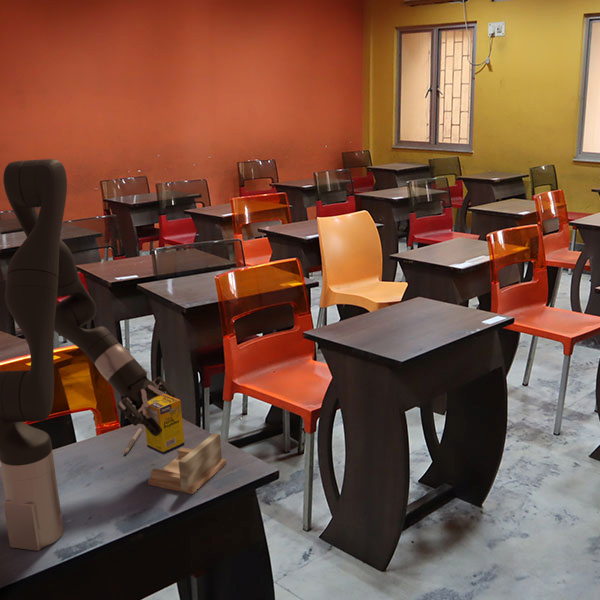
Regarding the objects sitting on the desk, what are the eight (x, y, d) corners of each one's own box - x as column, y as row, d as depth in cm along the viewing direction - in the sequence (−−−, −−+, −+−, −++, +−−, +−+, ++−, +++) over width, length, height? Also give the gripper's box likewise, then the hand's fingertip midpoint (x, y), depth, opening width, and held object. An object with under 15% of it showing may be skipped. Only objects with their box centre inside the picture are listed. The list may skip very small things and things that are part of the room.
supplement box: (185, 445, 166) (181, 399, 163) (163, 455, 162) (158, 408, 159) (168, 437, 170) (164, 392, 167) (146, 447, 166) (141, 401, 163)
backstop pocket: (192, 494, 157) (189, 463, 155) (148, 484, 162) (145, 454, 160) (226, 463, 169) (224, 434, 167) (184, 455, 174) (182, 427, 172)
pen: (144, 430, 188) (144, 424, 188) (127, 456, 175) (127, 451, 174) (140, 430, 188) (140, 424, 188) (123, 456, 175) (122, 451, 175)
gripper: (108, 371, 157) (160, 430, 156) (148, 348, 170) (197, 403, 168) (90, 391, 161) (141, 449, 160) (131, 367, 174) (178, 422, 172)
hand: (169, 426), depth 164 cm, fingers closed on supplement box, 7 cm apart
